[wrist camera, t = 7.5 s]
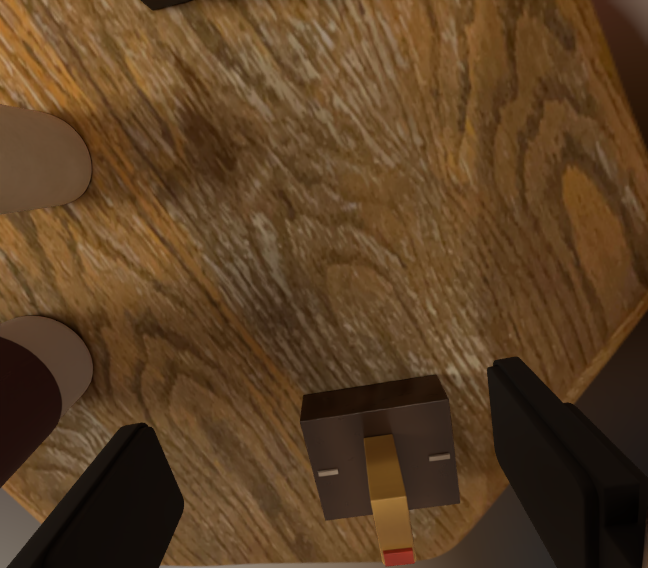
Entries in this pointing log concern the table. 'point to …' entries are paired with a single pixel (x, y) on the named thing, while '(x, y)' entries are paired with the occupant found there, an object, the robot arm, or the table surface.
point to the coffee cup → (36, 384)
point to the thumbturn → (389, 501)
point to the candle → (39, 161)
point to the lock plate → (376, 420)
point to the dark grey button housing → (161, 3)
